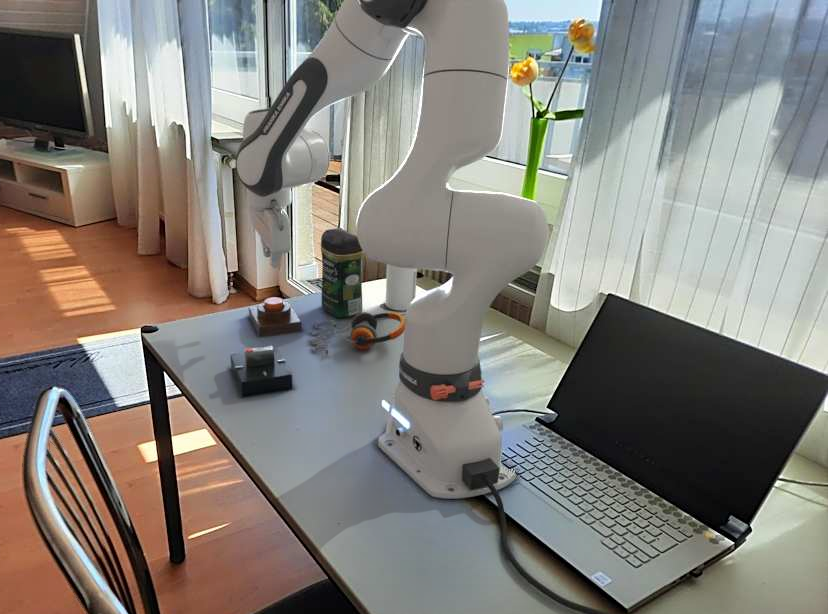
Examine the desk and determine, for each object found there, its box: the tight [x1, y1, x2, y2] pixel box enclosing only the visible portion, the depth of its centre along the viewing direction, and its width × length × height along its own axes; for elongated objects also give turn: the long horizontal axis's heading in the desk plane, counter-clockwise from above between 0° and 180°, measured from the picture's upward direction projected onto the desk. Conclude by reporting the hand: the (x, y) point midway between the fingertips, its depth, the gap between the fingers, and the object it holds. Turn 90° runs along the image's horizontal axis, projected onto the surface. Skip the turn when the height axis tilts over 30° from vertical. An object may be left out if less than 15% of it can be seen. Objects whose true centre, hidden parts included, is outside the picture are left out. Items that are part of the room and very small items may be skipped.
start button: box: [263, 296, 284, 311], centre depth 139 cm, size 4×4×2 cm
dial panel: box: [230, 347, 293, 398], centre depth 119 cm, size 11×9×3 cm
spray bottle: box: [385, 264, 418, 311], centre depth 147 cm, size 7×7×18 cm
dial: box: [244, 345, 275, 368], centre depth 117 cm, size 5×2×3 cm, turn 110°
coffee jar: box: [320, 227, 364, 319], centre depth 144 cm, size 10×8×19 cm
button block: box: [248, 300, 302, 337], centre depth 140 cm, size 11×9×4 cm
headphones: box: [310, 311, 405, 357], centre depth 133 cm, size 17×5×20 cm
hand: (271, 261), depth 135 cm, fingers open, 5 cm apart
